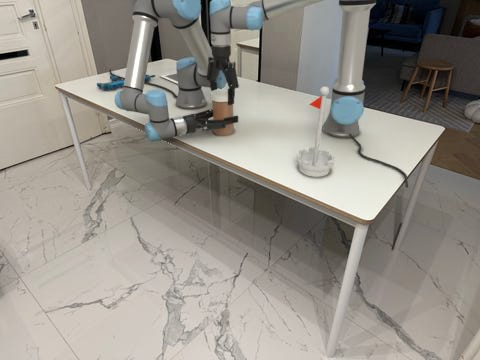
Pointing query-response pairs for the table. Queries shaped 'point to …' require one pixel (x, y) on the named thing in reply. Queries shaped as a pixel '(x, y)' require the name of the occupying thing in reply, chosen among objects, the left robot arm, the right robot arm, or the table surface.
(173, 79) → the tablet
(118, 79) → the submachine gun
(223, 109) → the jar
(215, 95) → the lid
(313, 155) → the flag stand
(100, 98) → the table surface
